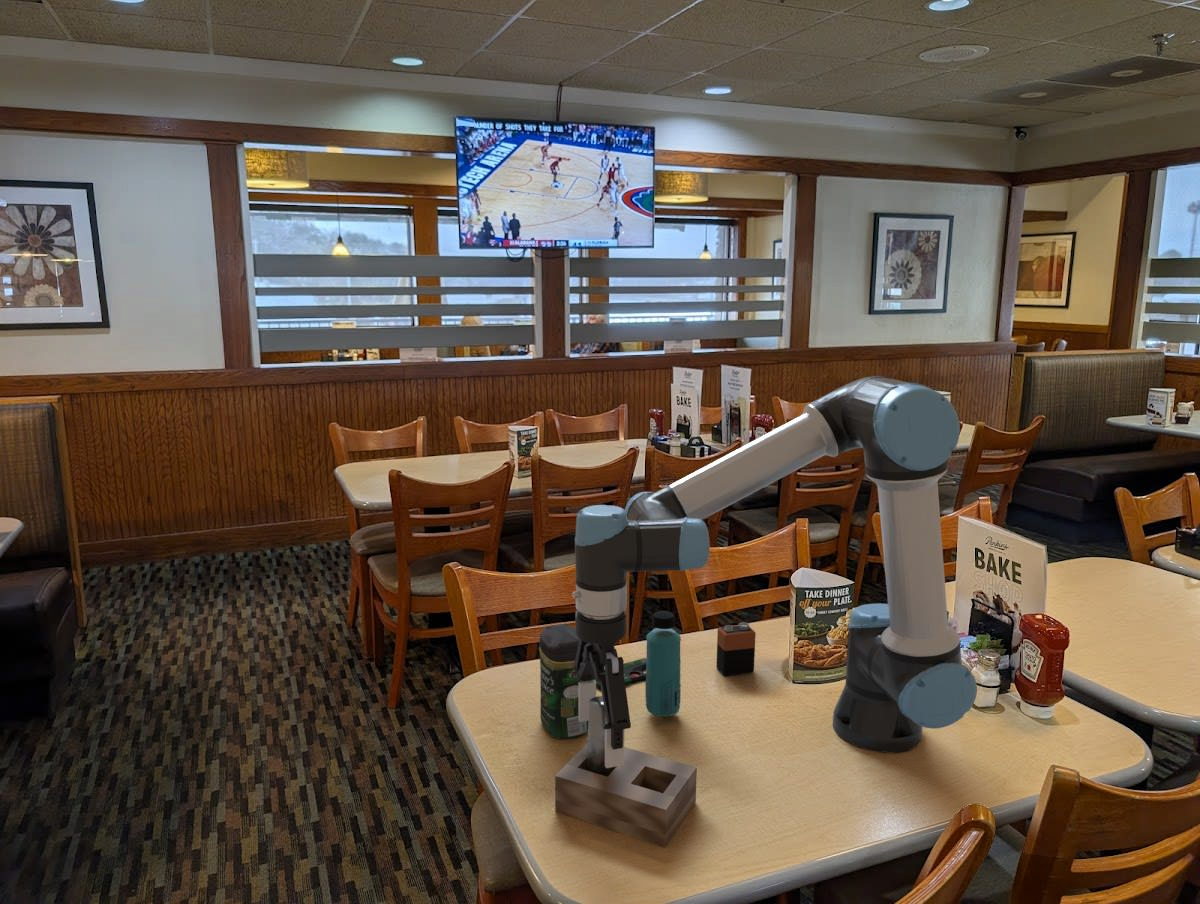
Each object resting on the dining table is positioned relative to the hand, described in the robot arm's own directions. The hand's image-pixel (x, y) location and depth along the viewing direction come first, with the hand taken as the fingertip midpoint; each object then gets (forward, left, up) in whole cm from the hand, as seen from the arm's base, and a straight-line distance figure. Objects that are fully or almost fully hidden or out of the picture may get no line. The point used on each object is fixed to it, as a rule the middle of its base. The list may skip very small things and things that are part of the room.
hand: (600, 741), depth 129 cm
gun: (+14, -39, -10) cm, 43 cm away
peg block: (-4, 0, -10) cm, 11 cm away
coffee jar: (+16, -16, -10) cm, 24 cm away
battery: (-4, -52, -10) cm, 53 cm away
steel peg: (0, 0, -8) cm, 8 cm away
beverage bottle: (+2, -28, -10) cm, 30 cm away
